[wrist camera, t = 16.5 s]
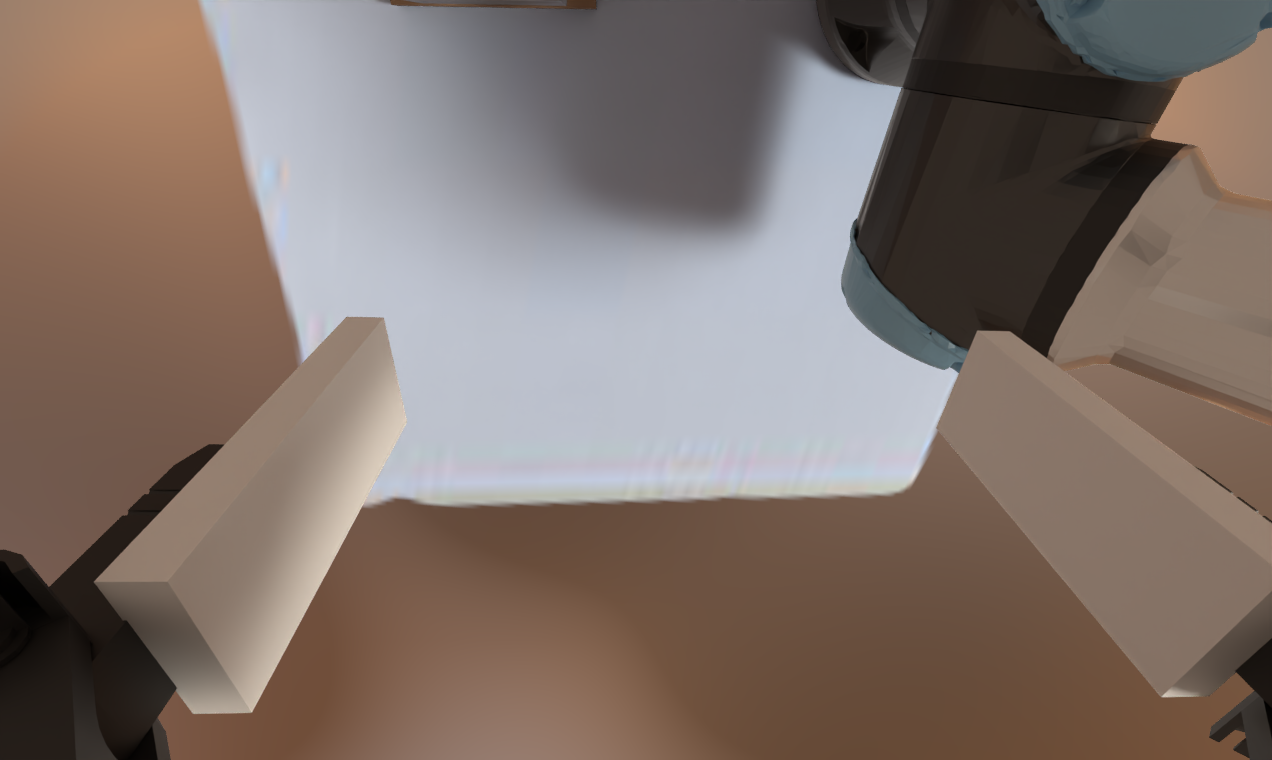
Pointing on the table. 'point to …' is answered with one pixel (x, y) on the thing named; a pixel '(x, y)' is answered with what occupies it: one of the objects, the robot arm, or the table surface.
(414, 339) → the table surface
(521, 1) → the book rack
